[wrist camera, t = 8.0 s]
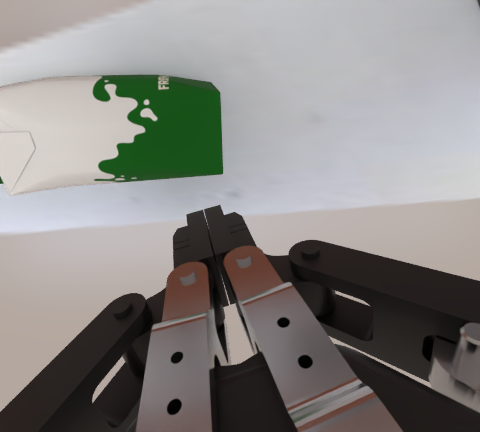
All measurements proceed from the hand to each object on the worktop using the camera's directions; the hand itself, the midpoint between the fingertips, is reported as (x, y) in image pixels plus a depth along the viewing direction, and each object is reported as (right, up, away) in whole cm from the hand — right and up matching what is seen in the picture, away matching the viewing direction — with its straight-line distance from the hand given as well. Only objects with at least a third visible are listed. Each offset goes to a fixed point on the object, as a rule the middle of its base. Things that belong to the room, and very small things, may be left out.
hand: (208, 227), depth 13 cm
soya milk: (-1, +9, +15) cm, 18 cm away
